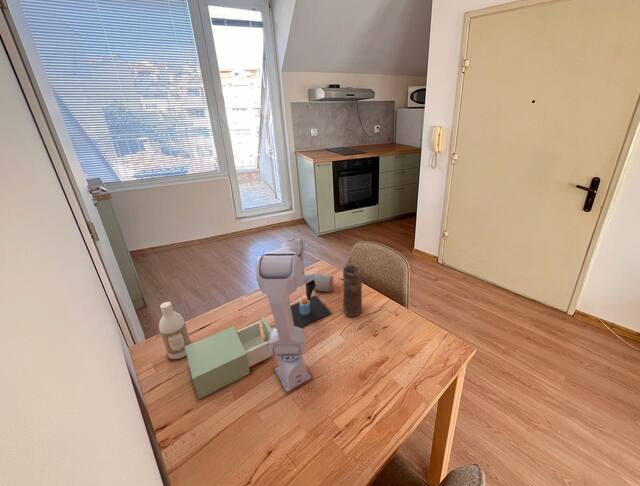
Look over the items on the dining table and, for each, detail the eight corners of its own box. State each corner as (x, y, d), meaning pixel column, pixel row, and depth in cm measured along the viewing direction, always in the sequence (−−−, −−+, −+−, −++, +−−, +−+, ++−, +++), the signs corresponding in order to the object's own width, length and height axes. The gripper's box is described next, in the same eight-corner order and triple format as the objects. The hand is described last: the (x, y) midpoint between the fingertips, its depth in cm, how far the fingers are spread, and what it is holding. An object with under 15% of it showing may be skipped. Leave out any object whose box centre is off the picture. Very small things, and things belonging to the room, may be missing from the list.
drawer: (278, 325, 109) (277, 311, 106) (293, 347, 100) (291, 332, 97) (227, 348, 99) (224, 333, 96) (238, 375, 90) (235, 359, 87)
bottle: (312, 312, 117) (311, 300, 114) (302, 316, 115) (302, 304, 112) (307, 306, 120) (306, 295, 117) (298, 310, 117) (297, 299, 115)
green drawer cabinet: (237, 345, 102) (233, 326, 98) (250, 373, 92) (246, 353, 88) (190, 366, 94) (184, 346, 90) (198, 399, 84) (192, 378, 80)
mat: (330, 313, 117) (330, 312, 117) (293, 331, 108) (293, 330, 108) (315, 296, 126) (315, 295, 126) (279, 311, 118) (279, 310, 117)
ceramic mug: (330, 295, 127) (330, 280, 124) (312, 293, 128) (311, 279, 125) (334, 281, 137) (334, 267, 134) (317, 279, 137) (317, 265, 134)
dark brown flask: (340, 307, 120) (340, 266, 112) (356, 302, 123) (357, 262, 115) (347, 319, 114) (348, 277, 106) (364, 314, 117) (366, 272, 109)
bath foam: (169, 363, 94) (152, 315, 86) (167, 348, 99) (152, 302, 91) (193, 354, 98) (179, 307, 89) (190, 340, 103) (177, 294, 95)
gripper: (311, 259, 108) (313, 289, 114) (272, 269, 102) (275, 300, 108) (318, 269, 103) (320, 300, 109) (277, 280, 96) (281, 312, 102)
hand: (298, 301), depth 108 cm, fingers open, 7 cm apart
